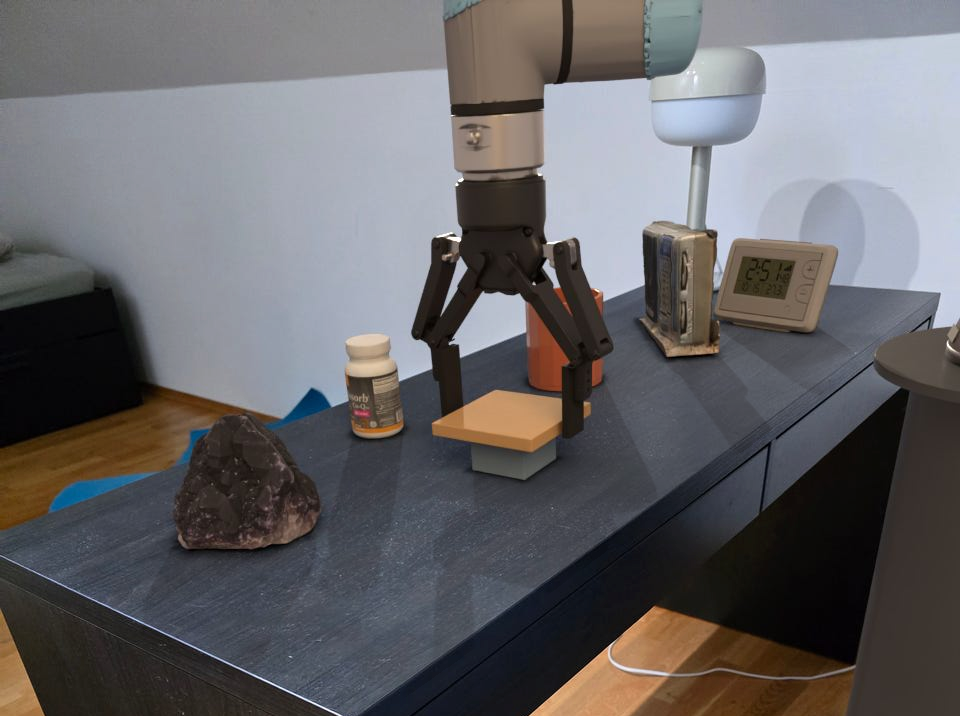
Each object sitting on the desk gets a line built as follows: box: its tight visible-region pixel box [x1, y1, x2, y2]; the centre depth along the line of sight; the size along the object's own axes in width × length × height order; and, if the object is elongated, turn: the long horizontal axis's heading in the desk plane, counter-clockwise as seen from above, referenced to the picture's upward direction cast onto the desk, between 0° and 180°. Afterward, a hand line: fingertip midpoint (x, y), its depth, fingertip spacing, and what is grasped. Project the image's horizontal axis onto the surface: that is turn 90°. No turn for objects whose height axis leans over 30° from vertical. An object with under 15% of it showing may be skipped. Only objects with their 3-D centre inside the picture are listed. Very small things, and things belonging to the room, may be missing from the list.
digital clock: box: [713, 237, 839, 333], centre depth 121 cm, size 16×9×11 cm, turn 31°
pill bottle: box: [344, 333, 404, 440], centre depth 94 cm, size 6×6×10 cm
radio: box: [638, 220, 721, 358], centre depth 117 cm, size 23×9×15 cm, turn 175°
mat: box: [431, 389, 592, 452], centre depth 84 cm, size 11×11×1 cm
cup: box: [524, 286, 604, 392], centre depth 106 cm, size 9×9×10 cm
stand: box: [469, 436, 557, 481], centre depth 85 cm, size 6×6×4 cm
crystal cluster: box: [172, 412, 322, 550], centre depth 76 cm, size 13×14×10 cm
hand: (510, 424), depth 84 cm, fingers open, 13 cm apart
